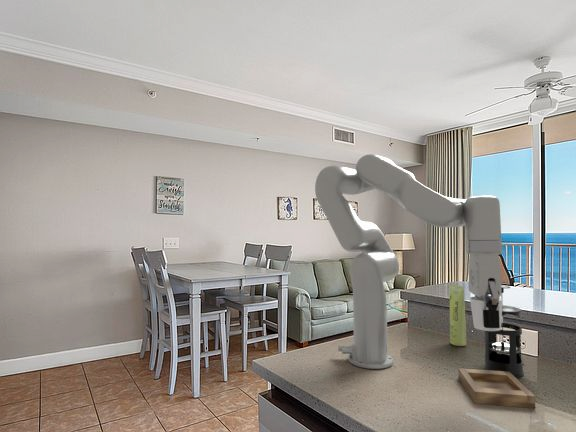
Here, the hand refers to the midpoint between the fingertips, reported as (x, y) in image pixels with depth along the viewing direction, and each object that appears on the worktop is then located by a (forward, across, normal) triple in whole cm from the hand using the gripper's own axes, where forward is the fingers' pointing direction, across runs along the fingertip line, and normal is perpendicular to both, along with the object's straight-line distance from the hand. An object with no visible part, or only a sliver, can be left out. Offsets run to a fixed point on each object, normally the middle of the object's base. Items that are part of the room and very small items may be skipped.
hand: (487, 323), depth 88 cm
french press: (+16, -16, +8) cm, 24 cm away
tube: (+16, -38, +1) cm, 41 cm away
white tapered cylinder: (+1, 0, 0) cm, 1 cm away
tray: (+16, -1, +1) cm, 16 cm away
